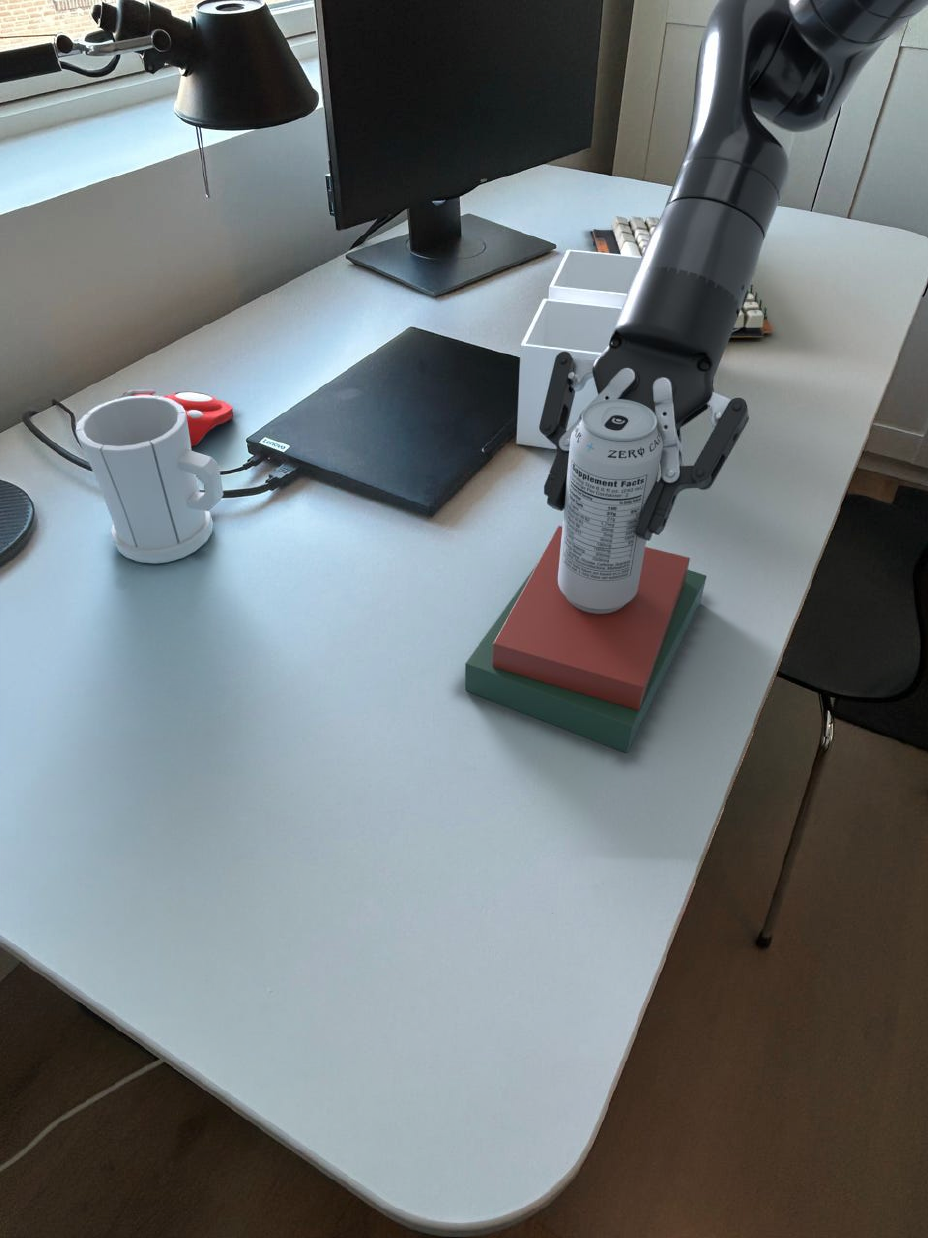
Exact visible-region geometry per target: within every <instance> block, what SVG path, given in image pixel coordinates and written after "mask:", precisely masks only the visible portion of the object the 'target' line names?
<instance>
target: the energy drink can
mask: <svg viewBox="0 0 928 1238" xmlns="http://www.w3.org/2000/svg"><path fill="white" fill-rule="evenodd" d="M662 449H663V442H662V438H661V436H660V433H659V431H658V429H657V417H656V415H655V414H654V412H653V411H652V410H651V409H649V408H648V407H646V406H644V405H642V404H640V403H637V402H634V401H629V400H623V399H608V400H602V401H598V402H595V403H593V404H591V405H589V406H588V407H587V408H586V409H585V410H584V411H583V414H582V420H581V421H580V423H579V424H578V425H577V426H576V428H575V429H574V431H573V432H572V434H571V438H570V449H569V460H568V471H567V482H566V493H565V504H564V510H563V517H562V538H561V549H560V560H559V571H558V585H559V588H560V590H561V591H562V593H563V594H564V595H565V596H566V598H567V599H568V601H569V602H570V603H571V604H572V605H573V606H575V607H576V608H578V609H580V610H583V611H586V612H589V613H595V614H604V613H610V612H614V611H616V610H618V609H620V608H622V607H623V606H624V605H625V604H626V603H628V602H629V601H630V600H632V599H633V597H634V596H635V595H636V593H637V591H638V585H639V580H640V574H641V568H642V563H643V557H644V551H645V547H647V546H646V545H647V540H644V539H641V538H639V537H638V536H637V535H636V534H635V531H636V527H637V525H638V522H639V519H640V517H641V514H642V512H643V509H644V507H645V504H646V502H647V499H648V496H649V494H650V492H651V490H652V488H653V486H654V484H655V481H658V476H659V470H660V467H661V466H660V460H661V454H662Z"/></svg>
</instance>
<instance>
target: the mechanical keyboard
mask: <svg viewBox="0 0 928 1238" xmlns="http://www.w3.org/2000/svg"><path fill="white" fill-rule="evenodd" d="M659 219H660V218H659V217H653V216H648V217H647V218H646V219H645V221H644V219H643V218H642V217H639V216H631V217H630V219H629V220H628V219H627V218H626V217H622V216H619V215H618V216H617V215H615V217H614V218H613V221H612V223H611V225H610V226H611V229H596V228H594V229H593V231H589V233H590V236H591V237H592V244H593V246H594V247H595V250H596V252H600V253H610V254H620V255H630V256H641V257H642V255H643V252H644V250H645V247H646V245H647V242H648V240H649V238H650V236H651V234H652V232H653V230H654V228H655V227H656V225H657V223H658V221H659ZM753 287H754V285H753V284H751V285H750V287H749V294H748V297H747V299H746V301H745V304H744V306H742V308H741V310H740V313H739V315H738V318H737V320H736V323H735V325H734V328H733V331H732V333H731V336H730V338H763V337H764V334H772V333H774V329H773V327H772V326H771V324H770V321H769V319H768V315H767V310H768V308H767V307H764V310H763V307H762V304H763V300H762V299H759V301H758V291H756V292H755V295H754V292H753V291H754V290H753Z"/></svg>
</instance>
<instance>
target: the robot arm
mask: <svg viewBox="0 0 928 1238" xmlns="http://www.w3.org/2000/svg"><path fill="white" fill-rule="evenodd" d="M927 6H928V0H718V1H717V3H716V4H715V6H714V8H713V10H712V11H711V13H710V15H709V17H708V20H707V22H706V25H705V28H704V31H703V34H702V37H701V41H700V44H699V51H698V57H697V63H696V68H695V69H696V70H695V82H694V93H693V95H694V96H693V104H692V113H691V121H690V126H689V133H688V138H687V143H686V149H685V153H684V156H683V159H682V161H681V164H680V167H679V170H678V171H677V174H676V177H675V181H674V182H673V184H672V188H671V190H670V193H669V195H668V198H667V200H666V202H665V206H664V209H663V210H662V213H661V216H660V218H659V221H658V223H657V225H656V227H655V228H654V230H653V232H652V234H651V236H650V238H649V240H648V242H647V245H646V247H645V250H644V252H643V255H642V258H641V260H640V263H639V265H638V268H637V270H636V273H635V276H634V278H633V281H632V283H631V286H630V289H629V291H628V294H627V296H626V299H625V302H624V304H623V307H622V309H621V312H620V314H619V317H618V320H617V322H616V325H615V327H614V330H613V333H612V336H611V339H610V342H609V345H608V347H607V348H606V349H605V351H604V352H603V353H602V354H601V355H600V356H599V357H598V358H597V359H596V360H595V361H593V360H584V359H575V358H572V356H571V355H570V353H568V352H561V353H559V354H558V355H557V356H556V358H555V362H554V367H553V371H552V375H551V379H550V383H549V387H548V392H547V396H546V400H545V404H544V408H543V412H542V417H541V421H540V425H539V430H540V432H541V433H542V434H543V435H544V436H545V437H546V438H547V439H548V440H549V441H550V442H551V443H552V444H554V445H555V446H556V448H557V449H556V455H555V457H554V459H553V462H552V465H551V467H550V470H549V473H548V475H547V477H546V480H545V483H544V485H543V494H544V496H546V497H547V500H546V504H547V505H548V506H549V507H550V508H551V509H553V510H557V511H560V512H564V504H565V493H566V482H567V471H568V460H569V449H570V438H571V434H572V432H573V431H574V429H575V428H576V426H577V425H578V424H579V423H580V421H581V420H582V414H583V411H584V410H585V409H586V408H587V407H588V406H589V405H591V404H593V403H595V402H598V401H602V400H608V399H623V400H629V401H634V402H637V403H640V404H642V405H644V406H646V407H648V408H649V409H651V410H652V411H653V412H654V414H655V415H656V417H657V429H658V431H659V433H660V436H661V438H662V442H663V449H662V454H661V460H660V466H659V467H660V477H659V480H657V481H655V484H654V486H653V488H652V490H651V492H650V494H649V496H648V499H647V502H646V504H645V507H644V509H643V512H642V514H641V517H640V519H639V522H638V525H637V527H636V531H635V534H636V535H637V536H638V537H639V538H641V539H644V540H646V542H649V541H650V540H651V539H652V537H653V534H654V535H657V536H659V535H660V534H661V533H662V532H663V531H664V530H665V528H666V525H667V522H668V521H669V518H670V515H671V513H672V510H673V507H674V505H675V503H676V500H677V497H678V495H679V494H680V493H681V492H683V491H685V490H688V489H698V490H701V491H705V490H709V489H710V488H711V487H712V485H714V482H715V481H716V479H717V477H718V476H719V474H720V472H721V470H722V468H723V467H724V464H725V463H726V462H727V460H728V458H729V456H730V455H731V453H732V451H733V449H734V447H735V446H736V444H737V442H738V440H739V438H740V437H741V435H742V433H743V431H744V429H745V428H746V426H747V424H748V423H749V420H750V412H749V407H748V404H747V403H748V402H747V401H746V400H745V399H744V398H742V397H734V398H732V399H731V398H730V397H727V396H725V395H722V394H720V393H718V392H715V389H714V380H715V376H716V374H717V371H718V368H719V367H720V363H721V361H722V358H723V356H724V353H725V350H726V348H727V346H728V343H729V341H730V339H731V337H730V336H731V333H732V331H733V328H734V325H735V323H736V320H737V318H738V315H739V313H740V310H741V308H742V306H744V304H745V301H746V299H747V297H748V294H749V288H751V285H752V282H753V279H754V276H755V273H756V269H757V266H758V263H759V257H760V253H761V250H762V247H763V245H764V244H763V243H764V241H765V239H766V236H767V233H768V230H769V228H770V225H771V223H772V220H773V218H774V215H775V212H776V210H777V208H778V205H779V203H780V200H781V198H782V196H783V193H784V190H785V187H786V185H787V182H788V178H789V174H790V158H789V156H788V153H787V151H786V150H785V147H784V146H783V144H781V143H780V141H779V140H778V139H777V138H776V137H775V136H774V135H773V134H772V133H771V131H769V130H768V128H767V127H765V125H764V124H762V122H761V121H760V120H759V119H762V120H764V121H765V122H767V123H769V124H771V125H773V126H774V127H776V128H779V129H780V130H782V131H786V132H789V133H806V132H809V131H814V130H816V129H818V128H820V127H822V126H823V125H825V124H826V123H828V122H829V121H830V120H831V119H832V118H833V117H834V115H836V113H838V111H839V109H840V108H841V107H842V106H843V104H844V103H845V101H846V99H847V97H848V95H849V94H850V93H851V90H852V89H853V87H854V85H855V83H856V82H857V79H858V78H859V76H860V74H861V73H862V72H863V70H864V69H865V67H866V66H867V64H868V63H869V61H870V60H871V59H872V58H873V57H874V55H875V54H876V53H877V51H878V50H879V49H880V48H881V46H882V45H883V44H884V43H885V42H886V40H887V39H888V38H890V37H891V36H892V35H893V34H894V33H896V32H897V31H898V30H899V29H901V28H902V27H903V26H905V24H907V23H908V22H910V20H912V19H913V18H914V17H915V16H917V15H918V14H919V13H920V12H921V11H922V10H924V9H925V8H927ZM758 118H759V119H758ZM591 378H594V381H595V385H596V388H597V392H598V396H597V397H596V398H595V399H594V400H593V401H592V402H591V403H590V404H589V405H588V406H587V407H586V408H585V409H584V410H583V411H582V412H581V414H580V417H579V419H578V420H577V421H576V422H575V423H574V424H573V425H572V426H571V427H570V428H569V429H568V430H567V431H566V429H567V425H568V421H569V417H570V412H571V408H572V404H573V400H574V396H575V392H577V391H580V390H582V389H583V387H584V385H585V383H586V382H587V380H589V379H591ZM708 409H709V411H711V413H710V417H709V423H710V426H711V428H712V429H713V430H712V432H711V434H710V436H709V437H708V438H707V441H706V442H705V444H704V446H703V447H702V449H701V451H700V453H699V455H698V457H697V458H696V460H695V462H694V463H693V465H684V448H683V447H684V446H683V435H682V428H683V427H684V426H686V425H687V424H688V423H690V422H691V421H693V420H694V419H696V418H697V417H699V416H700V415H701V414H703V413H704V412H705V411H707V410H708Z"/></svg>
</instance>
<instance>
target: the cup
mask: <svg viewBox="0 0 928 1238" xmlns="http://www.w3.org/2000/svg"><path fill="white" fill-rule="evenodd" d="M75 435H76V437H77V440H78V442H79V444H80V446H81V449H82V451H83V453H84V455H85V457H86V460H87V463H88V464H89V466H90V468H91V471H92V473H93V475H94V477H95V480H96V483H97V485H98V488H99V489H100V491H101V494H102V496H103V499H104V502H105V504H106V507H107V510H108V513H109V515H110V518H111V521H112V525H111V531H110V533H111V537H112V539H113V543H114V545H115V547H116V550H117V551H118V552H119V553H120V554H121V555H122V556H124V557H125V558H126V559H129V560H132V561H135V562H138V563H146V564H164V563H171V562H174V561H177V560H180V559H181V560H182V559H184V558H186V557H188V556H189V555H192V554H193V553H195V552H197V550H199V549H200V548H201V547H202V546H203V545H205V544H206V543H207V542H208V540H209V538H210V536H211V535H212V534H213V524H214V522H213V518H212V514H211V512H210V511H211V509H212V508H214V507H215V506H216V505H217V504H218V503H219V502H221V500H222V498H223V496H224V488H223V482H222V476H221V475H222V474H221V469H220V468H221V467H220V464H218V462H217V461H216V460H215V459H214V458H213V457H212V456H209V455H206V454H203V453H200V452H196V451H194V450H192V446H191V443H190V436H189V430H188V423H187V416H186V412H185V410H184V409H183V407H182V406H181V405H180V404H178V403H177V402H175V401H174V400H172V399H168V398H165V397H161V395H160V396H159V395H153V396H152V395H138V396H127V397H123V398H119V399H116V398H115V399H112V400H108V401H106V402H104V403H101V404H98V405H96V406H95V407H94V408H92V409H90V410H88V411H87V412H86V413H84V415H83V416H82V417H81V418H80V419H79V421H78V422H77V423H76V428H75ZM198 480H200V482H201V483H202V484H203V485H202V486H203V489H204V490H203V491H201V490H200V486H199V485H200V484H199V481H198Z"/></svg>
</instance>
